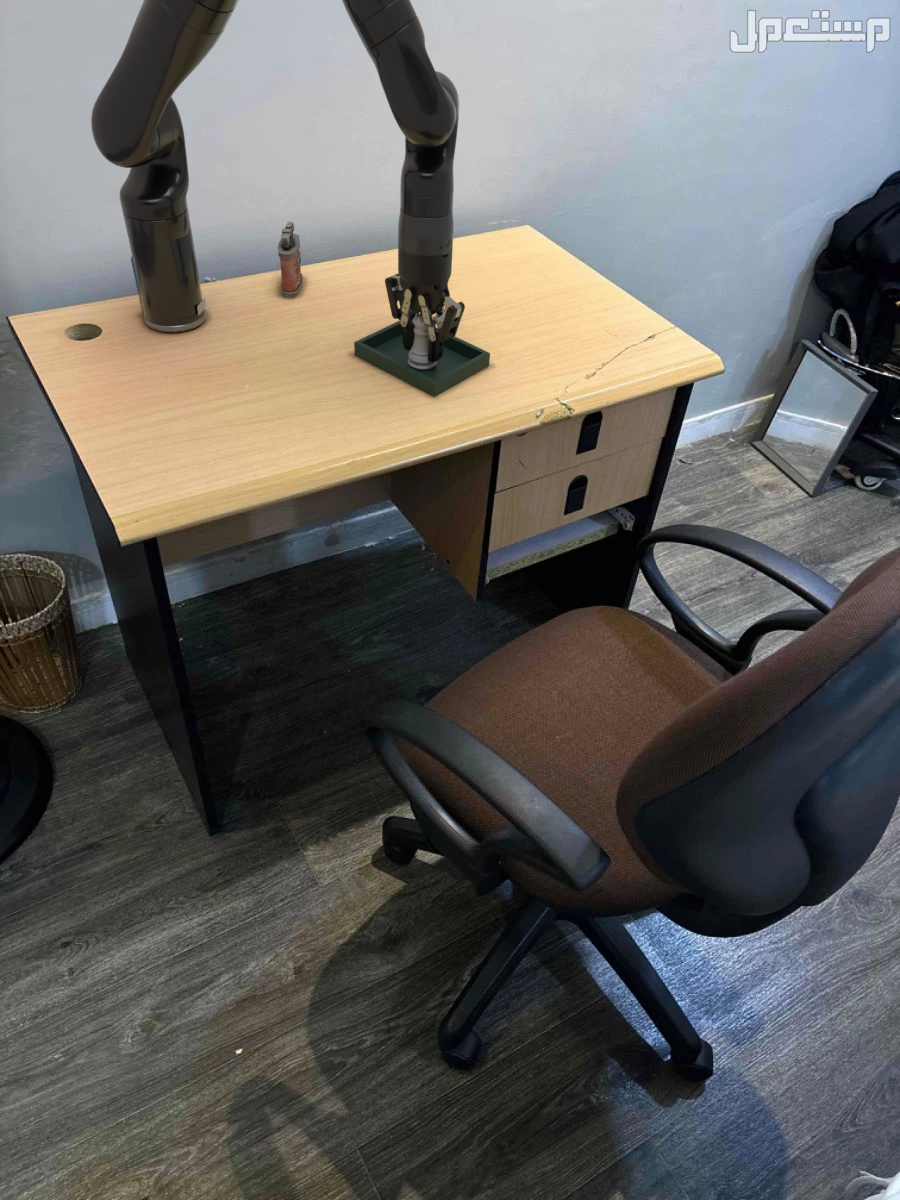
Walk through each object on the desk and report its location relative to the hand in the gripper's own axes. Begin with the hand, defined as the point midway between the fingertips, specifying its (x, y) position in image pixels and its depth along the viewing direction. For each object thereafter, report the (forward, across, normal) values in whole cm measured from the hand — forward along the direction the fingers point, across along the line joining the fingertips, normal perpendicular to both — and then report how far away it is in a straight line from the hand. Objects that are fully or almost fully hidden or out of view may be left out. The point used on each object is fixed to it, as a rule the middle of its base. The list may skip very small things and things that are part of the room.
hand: (422, 354), depth 132 cm
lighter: (+2, -33, +3) cm, 33 cm away
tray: (+2, -1, +1) cm, 2 cm away
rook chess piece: (+2, 0, 0) cm, 2 cm away
